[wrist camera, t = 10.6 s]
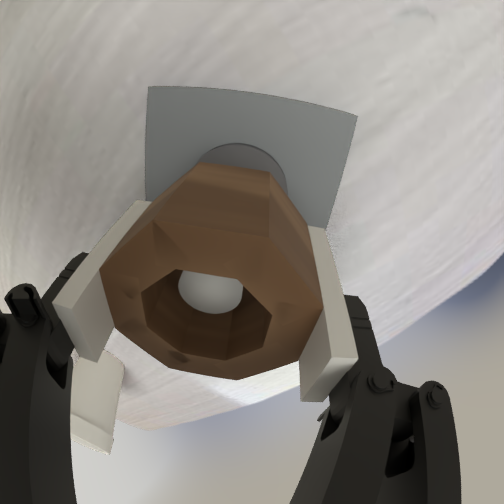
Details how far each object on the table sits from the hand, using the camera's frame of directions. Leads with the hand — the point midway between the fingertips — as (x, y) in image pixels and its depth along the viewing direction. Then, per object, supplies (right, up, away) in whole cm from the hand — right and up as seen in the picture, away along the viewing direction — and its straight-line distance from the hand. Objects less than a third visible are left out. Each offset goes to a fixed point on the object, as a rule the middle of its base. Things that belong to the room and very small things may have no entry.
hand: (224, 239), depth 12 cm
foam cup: (-19, -16, +20) cm, 32 cm away
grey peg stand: (0, +4, +5) cm, 6 cm away
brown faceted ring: (0, 0, 0) cm, 0 cm away
